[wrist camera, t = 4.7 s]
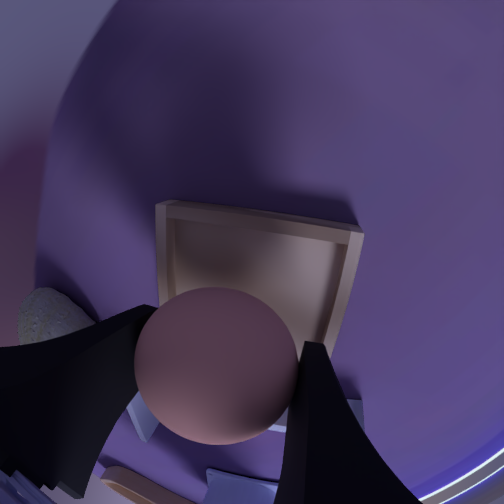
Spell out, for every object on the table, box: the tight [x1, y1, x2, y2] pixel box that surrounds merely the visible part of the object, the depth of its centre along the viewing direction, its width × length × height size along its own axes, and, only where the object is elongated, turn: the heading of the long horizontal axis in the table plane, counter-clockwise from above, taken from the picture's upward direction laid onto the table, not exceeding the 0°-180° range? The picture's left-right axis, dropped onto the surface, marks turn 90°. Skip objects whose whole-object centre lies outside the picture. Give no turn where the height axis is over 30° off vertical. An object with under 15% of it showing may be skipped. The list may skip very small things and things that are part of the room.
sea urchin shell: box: [18, 287, 96, 345], centre depth 15 cm, size 9×8×8 cm
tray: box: [155, 199, 364, 361], centre depth 12 cm, size 8×8×1 cm
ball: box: [134, 287, 299, 445], centre depth 8 cm, size 5×5×5 cm
